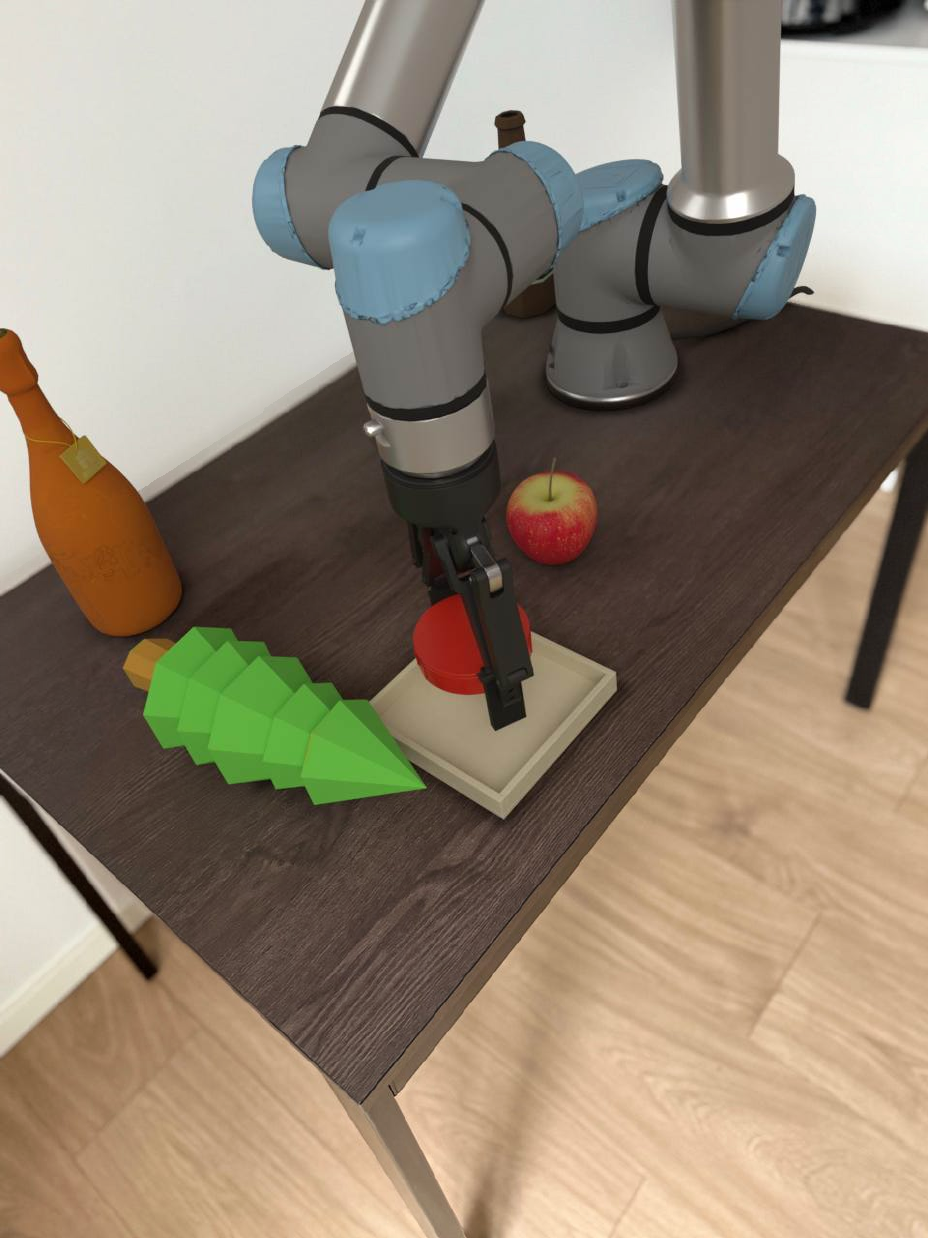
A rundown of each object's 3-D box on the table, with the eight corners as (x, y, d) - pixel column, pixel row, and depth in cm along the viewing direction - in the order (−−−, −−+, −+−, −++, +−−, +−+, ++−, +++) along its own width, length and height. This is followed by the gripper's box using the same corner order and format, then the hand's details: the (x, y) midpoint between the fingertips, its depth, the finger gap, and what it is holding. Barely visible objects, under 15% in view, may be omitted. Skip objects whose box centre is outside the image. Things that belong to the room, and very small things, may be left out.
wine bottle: (101, 658, 91) (-66, 381, 70) (82, 599, 97) (-76, 331, 76) (198, 615, 93) (65, 335, 72) (173, 561, 100) (44, 290, 79)
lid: (528, 605, 77) (525, 585, 75) (536, 688, 70) (533, 668, 69) (418, 618, 77) (414, 598, 76) (417, 701, 71) (411, 681, 69)
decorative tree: (136, 579, 79) (429, 691, 64) (217, 634, 88) (488, 743, 73) (62, 701, 76) (351, 849, 61) (154, 745, 85) (423, 882, 70)
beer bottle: (553, 318, 125) (536, 122, 108) (495, 320, 127) (470, 128, 110) (560, 289, 130) (546, 99, 113) (505, 292, 132) (482, 105, 115)
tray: (476, 621, 87) (473, 603, 85) (617, 690, 79) (616, 671, 77) (361, 731, 80) (355, 713, 78) (503, 820, 71) (500, 802, 70)
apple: (612, 533, 93) (608, 448, 86) (577, 590, 88) (570, 505, 81) (535, 517, 96) (526, 434, 89) (498, 570, 91) (485, 487, 84)
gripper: (328, 393, 67) (389, 619, 83) (453, 561, 52) (499, 798, 68) (424, 358, 69) (467, 586, 85) (572, 512, 54) (591, 754, 70)
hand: (481, 680), depth 76 cm, fingers closed on lid, 9 cm apart
